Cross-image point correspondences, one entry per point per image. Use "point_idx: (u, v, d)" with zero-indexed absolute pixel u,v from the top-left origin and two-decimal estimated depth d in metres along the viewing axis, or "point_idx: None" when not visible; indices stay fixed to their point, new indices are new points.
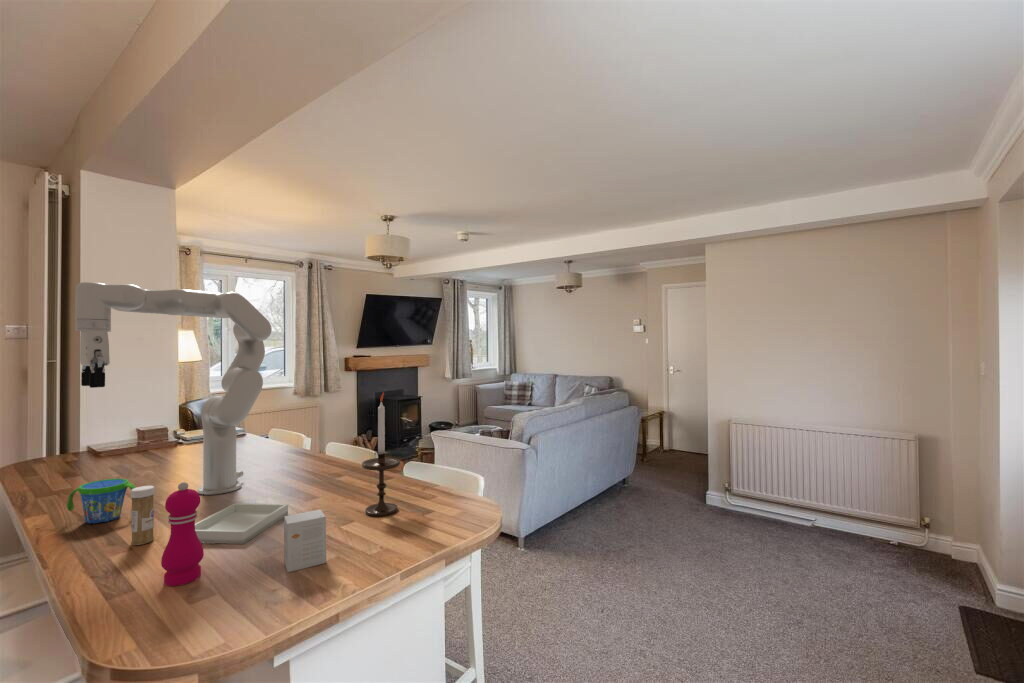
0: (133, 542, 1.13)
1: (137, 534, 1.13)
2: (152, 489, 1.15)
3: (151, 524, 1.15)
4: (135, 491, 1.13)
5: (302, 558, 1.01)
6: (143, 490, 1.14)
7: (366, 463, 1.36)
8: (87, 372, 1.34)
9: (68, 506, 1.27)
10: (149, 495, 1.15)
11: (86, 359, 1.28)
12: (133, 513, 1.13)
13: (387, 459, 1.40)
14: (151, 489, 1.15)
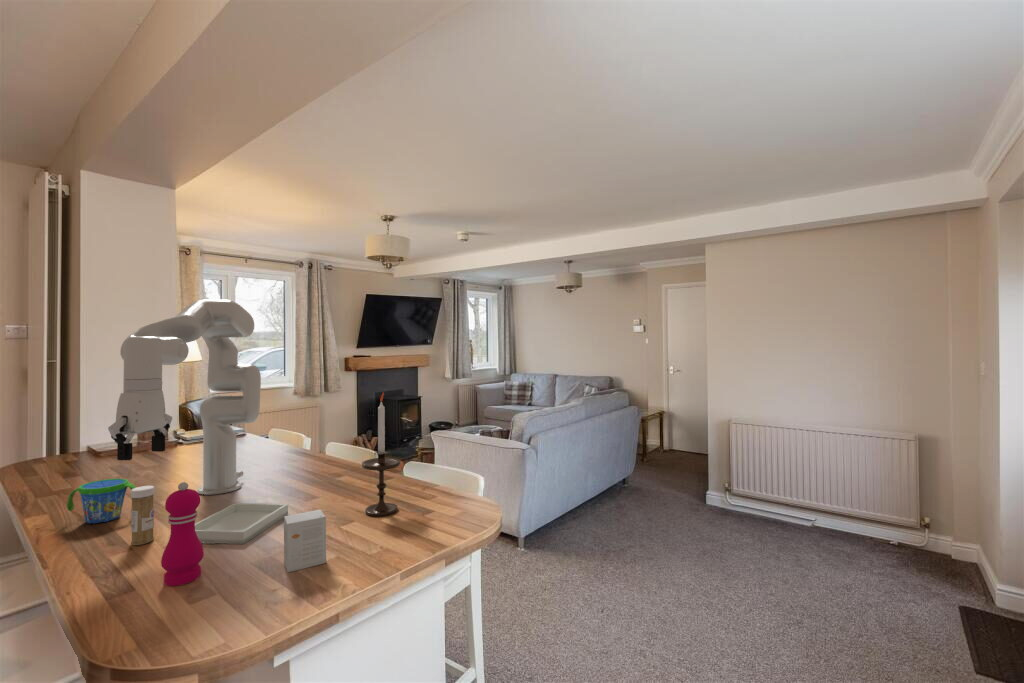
0: (133, 542, 1.13)
1: (137, 534, 1.13)
2: (152, 489, 1.15)
3: (151, 524, 1.15)
4: (135, 491, 1.13)
5: (302, 558, 1.01)
6: (143, 490, 1.14)
7: (366, 463, 1.36)
8: None
9: (68, 506, 1.27)
10: (149, 495, 1.15)
11: (162, 421, 1.19)
12: (133, 513, 1.13)
13: (387, 459, 1.40)
14: (151, 489, 1.15)
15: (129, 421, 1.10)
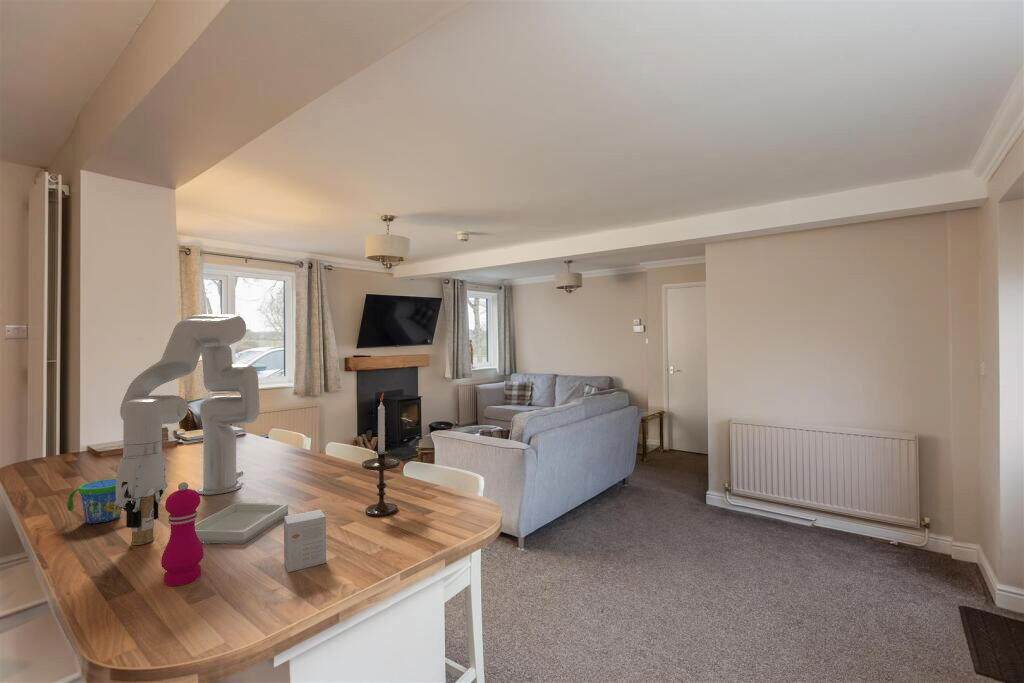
0: (133, 542, 1.13)
1: (137, 534, 1.13)
2: (152, 489, 1.15)
3: (151, 524, 1.15)
4: None
5: (302, 558, 1.01)
6: None
7: (366, 463, 1.36)
8: None
9: (68, 506, 1.27)
10: (149, 495, 1.15)
11: (163, 482, 1.19)
12: None
13: (387, 459, 1.40)
14: (151, 489, 1.15)
15: (129, 487, 1.10)
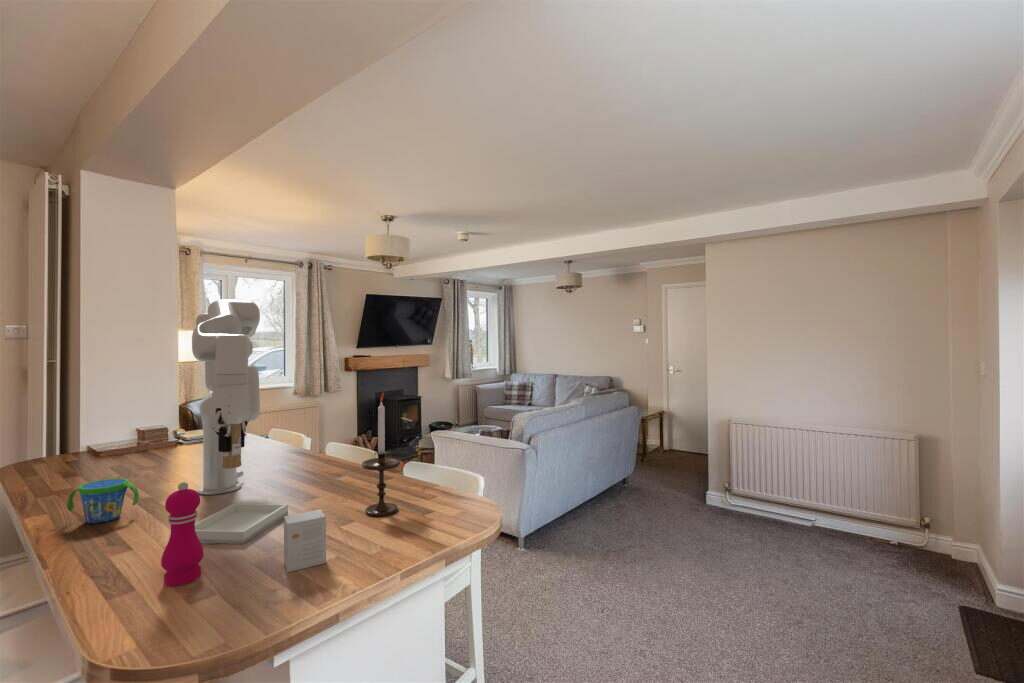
0: (224, 466, 1.21)
1: (228, 458, 1.21)
2: (240, 418, 1.24)
3: (239, 450, 1.23)
4: None
5: (302, 558, 1.01)
6: None
7: (366, 463, 1.36)
8: None
9: (68, 506, 1.27)
10: (238, 423, 1.23)
11: (248, 413, 1.27)
12: None
13: (387, 459, 1.40)
14: (239, 418, 1.23)
15: (223, 413, 1.18)
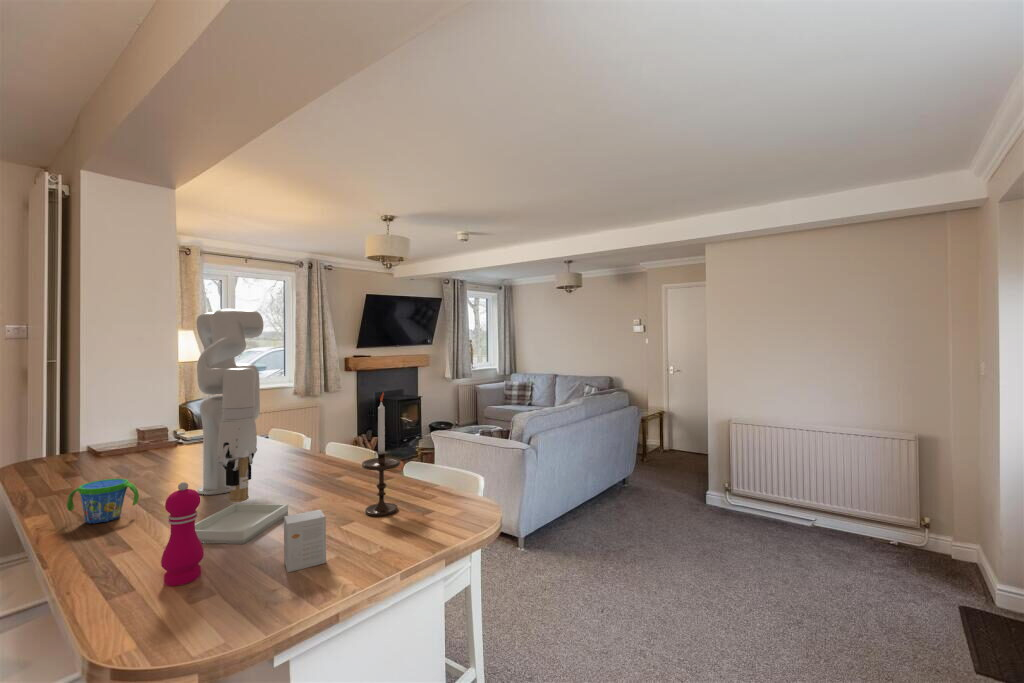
0: (232, 499, 1.22)
1: (235, 492, 1.22)
2: (247, 451, 1.24)
3: (247, 483, 1.24)
4: None
5: (302, 558, 1.01)
6: None
7: (366, 463, 1.36)
8: None
9: (68, 506, 1.27)
10: (246, 456, 1.24)
11: (255, 446, 1.28)
12: None
13: (387, 459, 1.40)
14: (247, 451, 1.24)
15: (230, 448, 1.19)
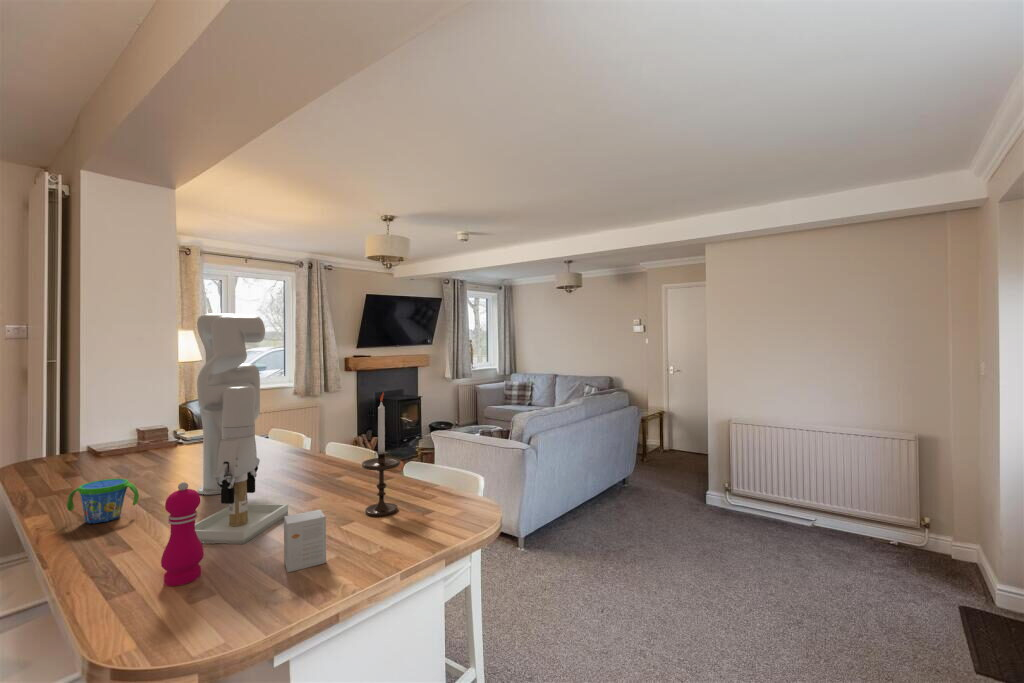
0: (231, 523, 1.22)
1: (235, 516, 1.22)
2: (246, 474, 1.24)
3: (246, 506, 1.24)
4: None
5: (302, 558, 1.01)
6: None
7: (366, 463, 1.36)
8: None
9: (68, 506, 1.27)
10: (244, 480, 1.23)
11: (255, 463, 1.28)
12: None
13: (387, 459, 1.40)
14: (245, 474, 1.24)
15: (230, 467, 1.19)
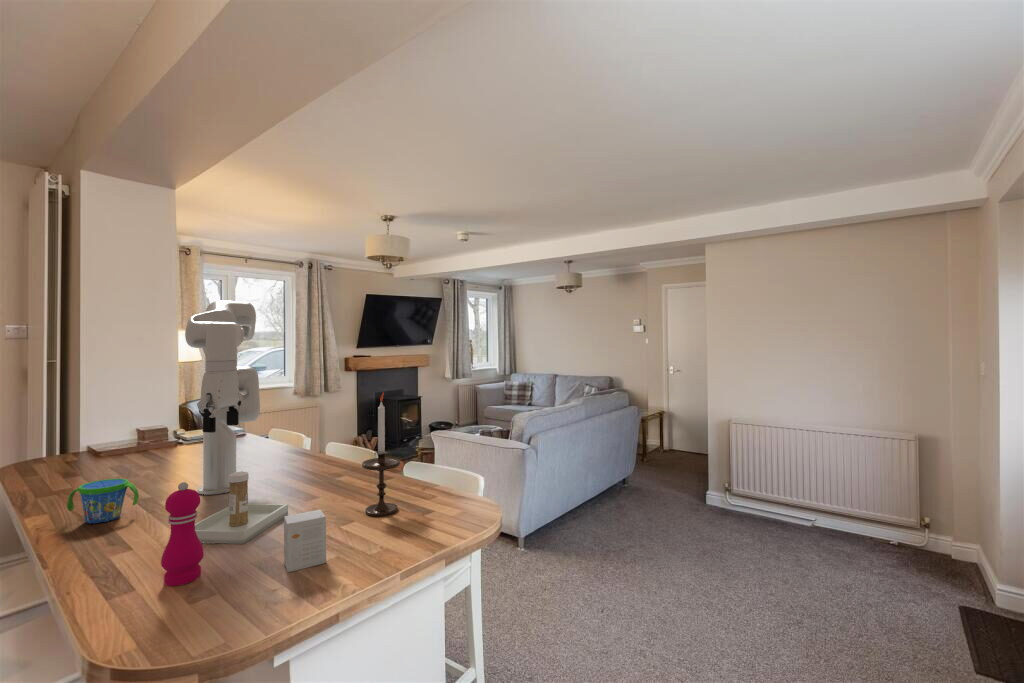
0: (231, 523, 1.22)
1: (235, 516, 1.22)
2: (247, 474, 1.24)
3: (246, 507, 1.24)
4: (233, 476, 1.22)
5: (302, 558, 1.01)
6: (240, 475, 1.23)
7: (366, 463, 1.36)
8: None
9: (68, 506, 1.27)
10: (245, 480, 1.24)
11: (237, 398, 1.33)
12: (231, 496, 1.22)
13: (387, 459, 1.40)
14: (246, 474, 1.24)
15: (213, 398, 1.24)
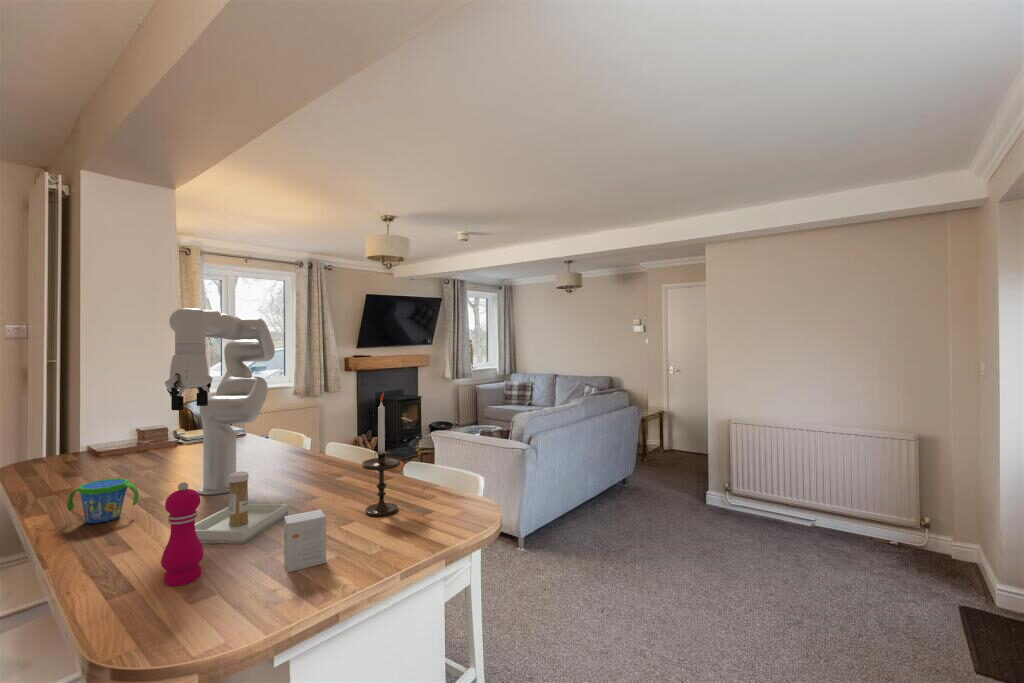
0: (231, 523, 1.22)
1: (235, 516, 1.22)
2: (247, 474, 1.24)
3: (246, 507, 1.24)
4: (233, 476, 1.22)
5: (302, 558, 1.01)
6: (240, 475, 1.23)
7: (366, 463, 1.36)
8: None
9: (68, 506, 1.27)
10: (245, 480, 1.24)
11: (206, 380, 1.41)
12: (231, 496, 1.22)
13: (387, 459, 1.40)
14: (246, 474, 1.24)
15: (181, 378, 1.33)
